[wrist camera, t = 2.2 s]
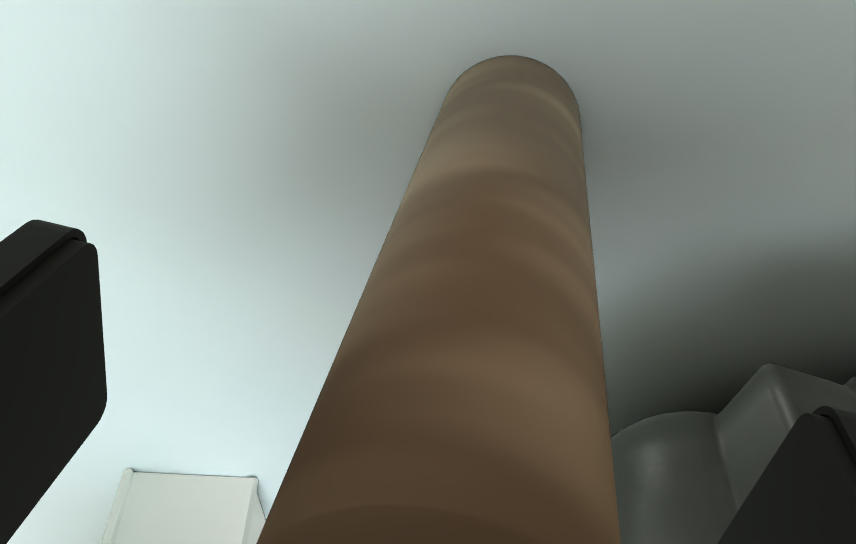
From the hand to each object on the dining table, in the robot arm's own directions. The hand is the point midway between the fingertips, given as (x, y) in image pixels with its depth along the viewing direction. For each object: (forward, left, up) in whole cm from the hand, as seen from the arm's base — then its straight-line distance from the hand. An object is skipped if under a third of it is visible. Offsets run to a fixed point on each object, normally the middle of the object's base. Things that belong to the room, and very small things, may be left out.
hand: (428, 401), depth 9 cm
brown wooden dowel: (0, 0, -11) cm, 11 cm away
